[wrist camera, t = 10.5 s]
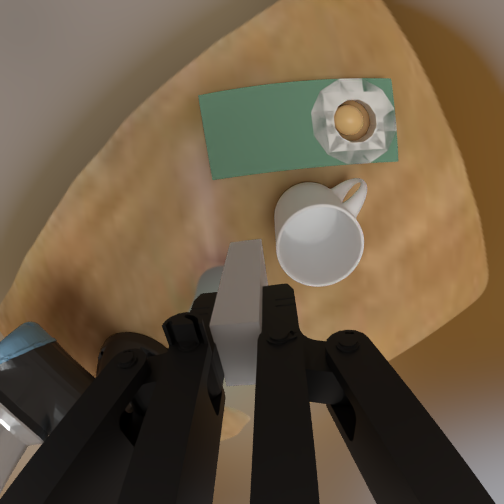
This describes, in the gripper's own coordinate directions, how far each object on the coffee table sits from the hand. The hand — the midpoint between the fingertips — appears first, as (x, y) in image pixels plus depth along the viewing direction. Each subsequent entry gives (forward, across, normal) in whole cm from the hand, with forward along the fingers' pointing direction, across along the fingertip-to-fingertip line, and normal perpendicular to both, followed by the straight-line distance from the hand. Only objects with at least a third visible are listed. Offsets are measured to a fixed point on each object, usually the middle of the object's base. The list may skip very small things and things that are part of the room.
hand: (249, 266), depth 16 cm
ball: (+23, +11, +6) cm, 26 cm away
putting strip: (+24, +6, +6) cm, 26 cm away
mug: (+25, +7, -4) cm, 26 cm away
